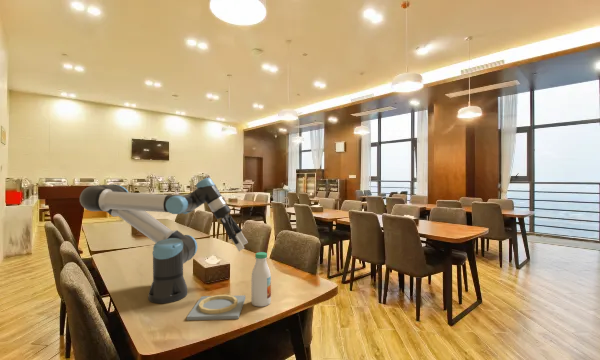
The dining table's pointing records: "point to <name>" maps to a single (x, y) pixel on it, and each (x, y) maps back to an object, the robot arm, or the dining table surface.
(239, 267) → the dining table surface
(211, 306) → the ring board
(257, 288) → the milk bottle
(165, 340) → the dining table surface
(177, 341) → the dining table surface
